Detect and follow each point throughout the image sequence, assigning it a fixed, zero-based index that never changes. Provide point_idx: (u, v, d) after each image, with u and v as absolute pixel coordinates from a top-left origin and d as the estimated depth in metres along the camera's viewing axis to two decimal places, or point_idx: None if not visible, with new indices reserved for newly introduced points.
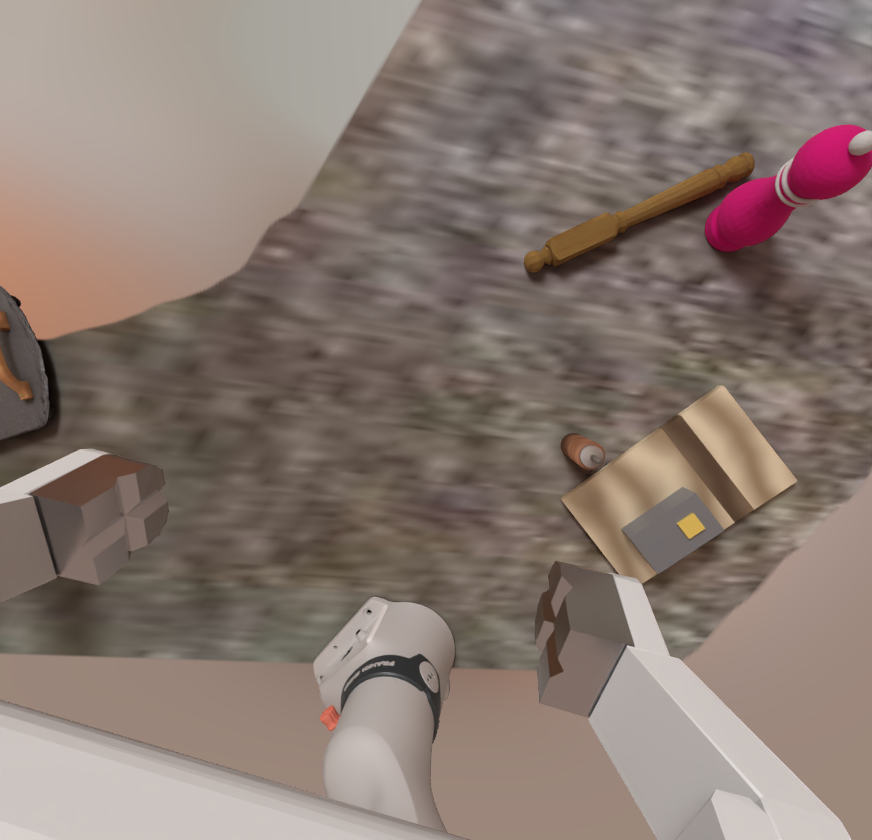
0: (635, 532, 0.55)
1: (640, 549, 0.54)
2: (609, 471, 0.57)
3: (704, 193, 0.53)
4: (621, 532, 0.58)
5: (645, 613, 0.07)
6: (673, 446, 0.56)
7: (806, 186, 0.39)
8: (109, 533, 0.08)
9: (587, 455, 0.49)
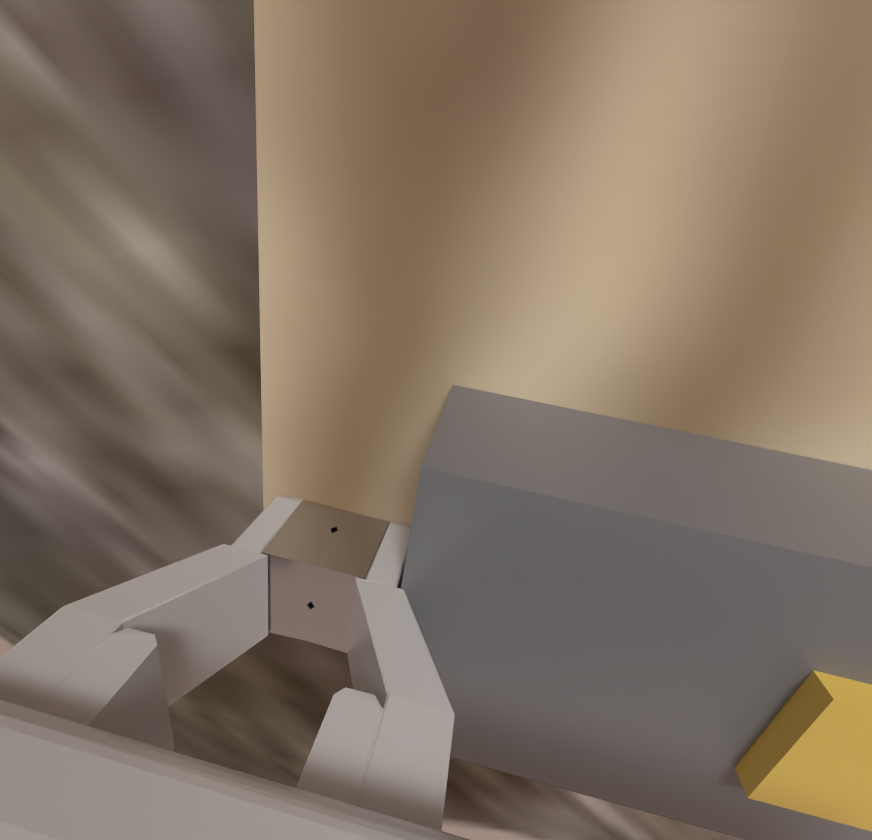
0: (503, 468, 0.06)
1: (413, 583, 0.06)
2: None
3: None
4: (428, 400, 0.09)
5: (397, 552, 0.07)
6: None
7: None
8: None
9: None
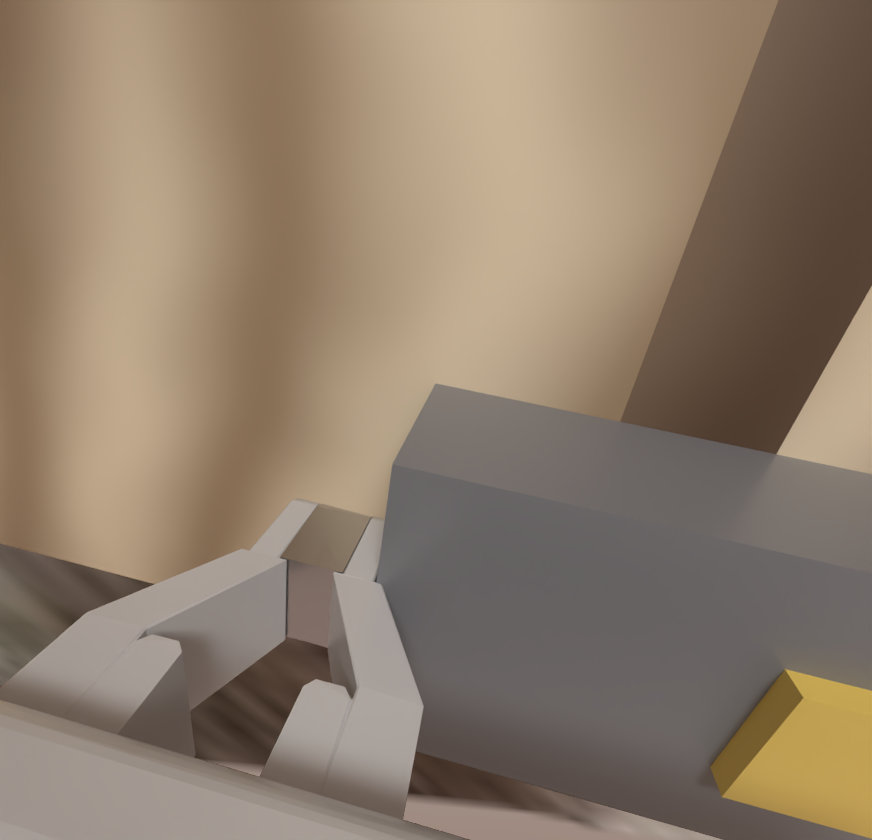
0: (476, 465, 0.06)
1: (388, 580, 0.06)
2: None
3: None
4: (56, 326, 0.10)
5: (376, 547, 0.07)
6: (720, 112, 0.06)
7: None
8: None
9: None
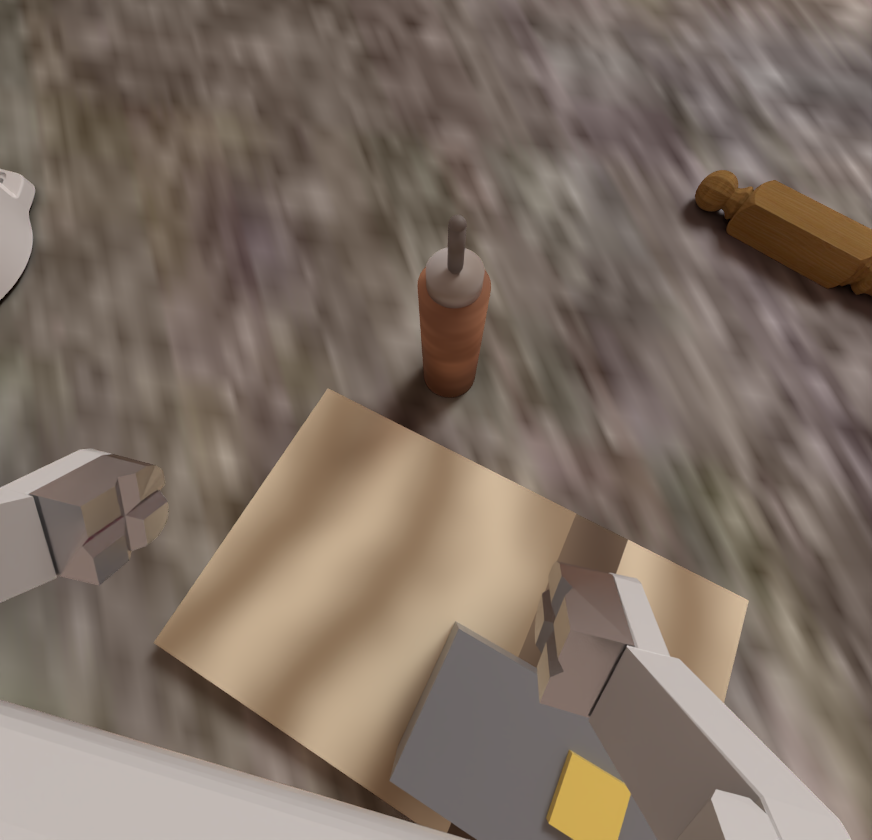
0: (480, 640, 0.18)
1: (440, 678, 0.17)
2: (429, 451, 0.25)
3: None
4: (301, 542, 0.23)
5: (645, 613, 0.07)
6: (553, 558, 0.22)
7: None
8: (109, 533, 0.08)
9: None
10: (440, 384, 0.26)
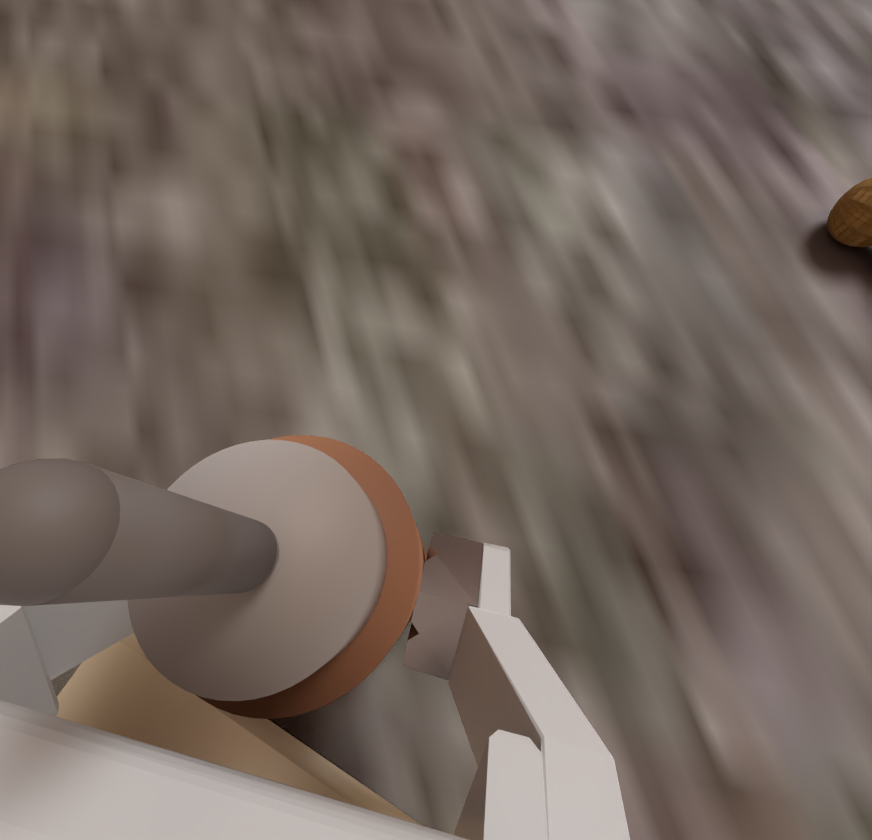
0: None
1: None
2: None
3: None
4: None
5: (500, 578, 0.07)
6: None
7: None
8: None
9: (253, 498, 0.05)
10: None
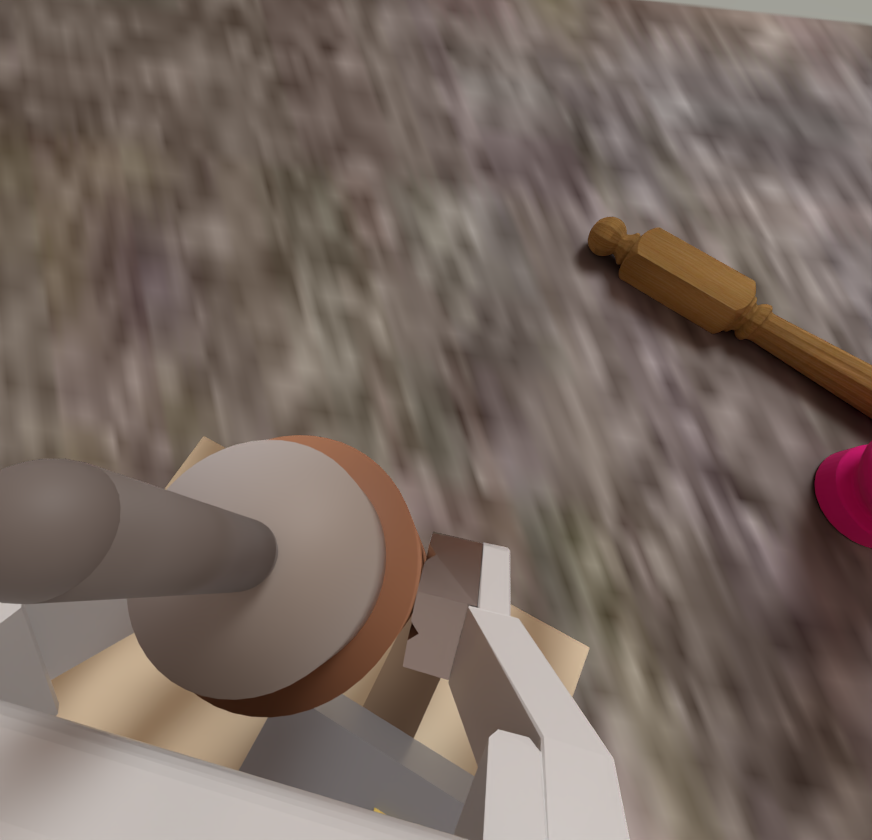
0: None
1: (260, 738, 0.18)
2: None
3: None
4: None
5: (500, 578, 0.07)
6: None
7: None
8: None
9: (252, 497, 0.05)
10: None
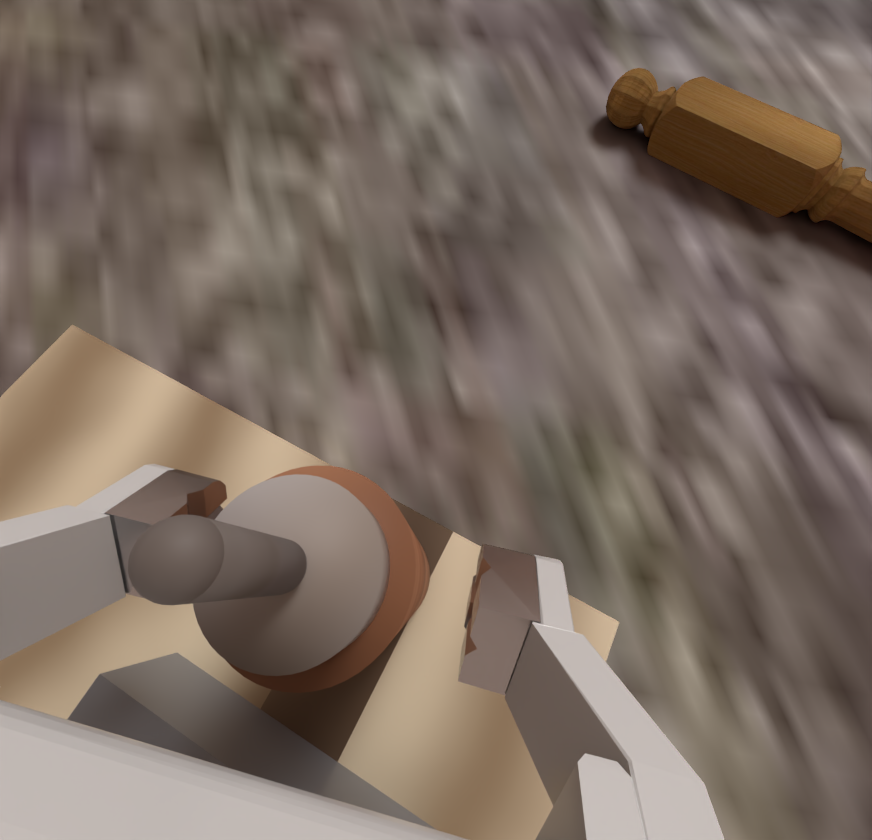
0: (142, 692, 0.11)
1: None
2: (193, 407, 0.17)
3: None
4: None
5: (559, 592, 0.07)
6: None
7: None
8: None
9: (285, 521, 0.06)
10: None
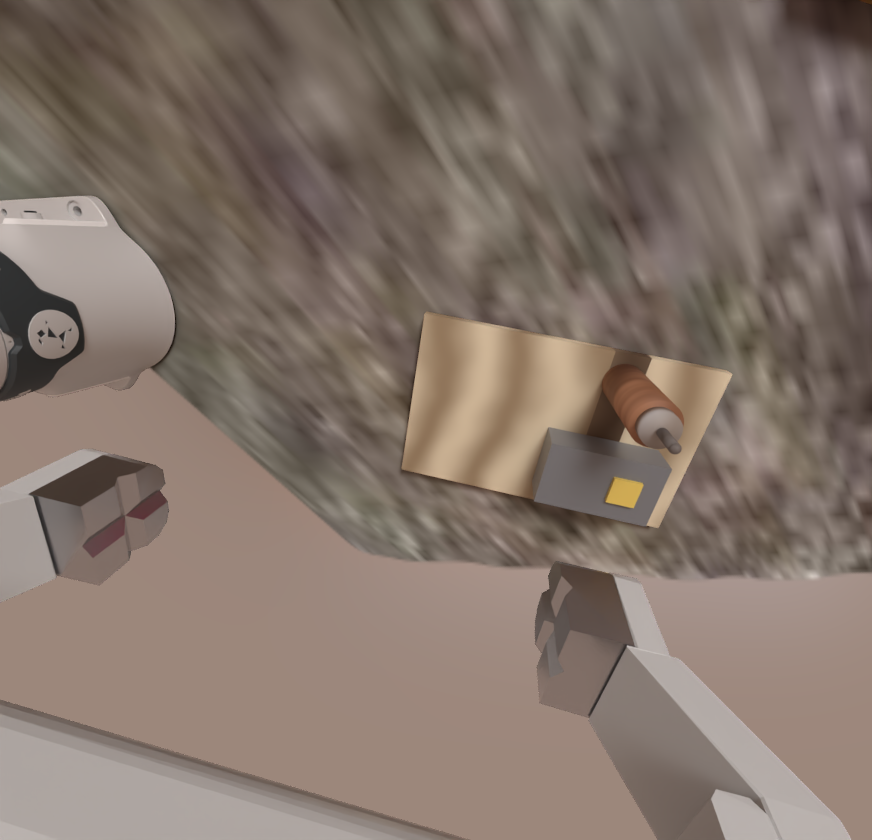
0: (564, 444, 0.36)
1: (547, 464, 0.36)
2: (508, 337, 0.36)
3: None
4: (450, 410, 0.39)
5: (645, 613, 0.07)
6: None
7: None
8: (109, 533, 0.08)
9: (657, 422, 0.27)
10: None
